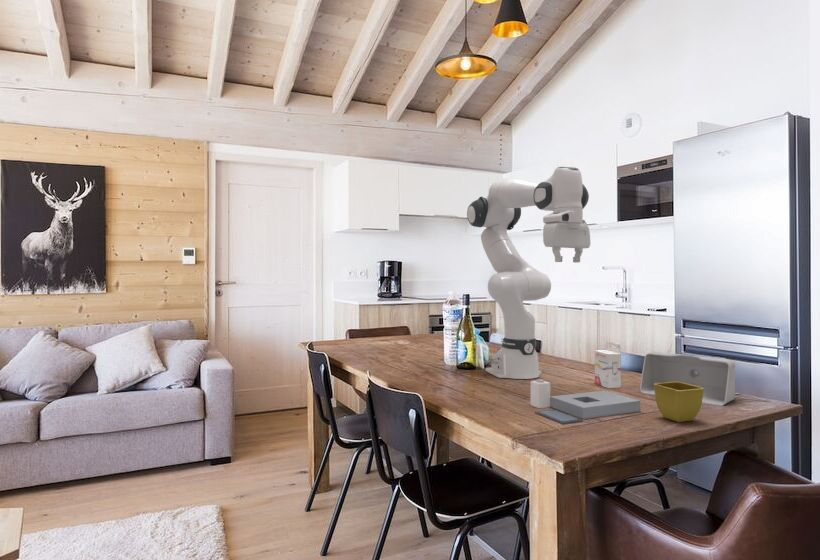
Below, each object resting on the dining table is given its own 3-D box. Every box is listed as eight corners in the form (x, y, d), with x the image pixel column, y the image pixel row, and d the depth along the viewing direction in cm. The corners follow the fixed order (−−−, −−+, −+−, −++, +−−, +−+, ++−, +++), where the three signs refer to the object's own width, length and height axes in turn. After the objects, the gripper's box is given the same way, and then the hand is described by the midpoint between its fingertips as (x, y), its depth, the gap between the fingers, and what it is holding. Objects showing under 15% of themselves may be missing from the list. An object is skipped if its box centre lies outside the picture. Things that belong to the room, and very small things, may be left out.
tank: (741, 397, 168) (741, 357, 168) (725, 406, 157) (725, 363, 157) (659, 385, 186) (659, 349, 186) (639, 392, 175) (639, 354, 175)
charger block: (530, 405, 159) (530, 379, 158) (541, 403, 160) (541, 378, 160) (538, 408, 155) (538, 381, 155) (550, 406, 156) (550, 380, 156)
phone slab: (535, 415, 150) (535, 411, 150) (554, 413, 152) (554, 409, 152) (562, 426, 138) (562, 422, 138) (582, 424, 141) (582, 419, 141)
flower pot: (704, 422, 140) (705, 387, 140) (678, 425, 138) (679, 390, 137) (677, 413, 149) (678, 381, 149) (652, 416, 146) (652, 383, 146)
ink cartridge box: (593, 383, 189) (594, 341, 188) (606, 382, 190) (606, 341, 190) (608, 388, 180) (608, 344, 180) (621, 388, 182) (621, 344, 181)
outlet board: (550, 406, 156) (550, 396, 156) (604, 400, 164) (604, 390, 164) (583, 419, 143) (583, 407, 143) (640, 411, 151) (640, 400, 151)
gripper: (578, 220, 178) (578, 262, 178) (539, 216, 165) (539, 262, 166) (595, 219, 173) (595, 262, 174) (556, 215, 161) (556, 261, 161)
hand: (567, 262), depth 170 cm, fingers open, 8 cm apart
